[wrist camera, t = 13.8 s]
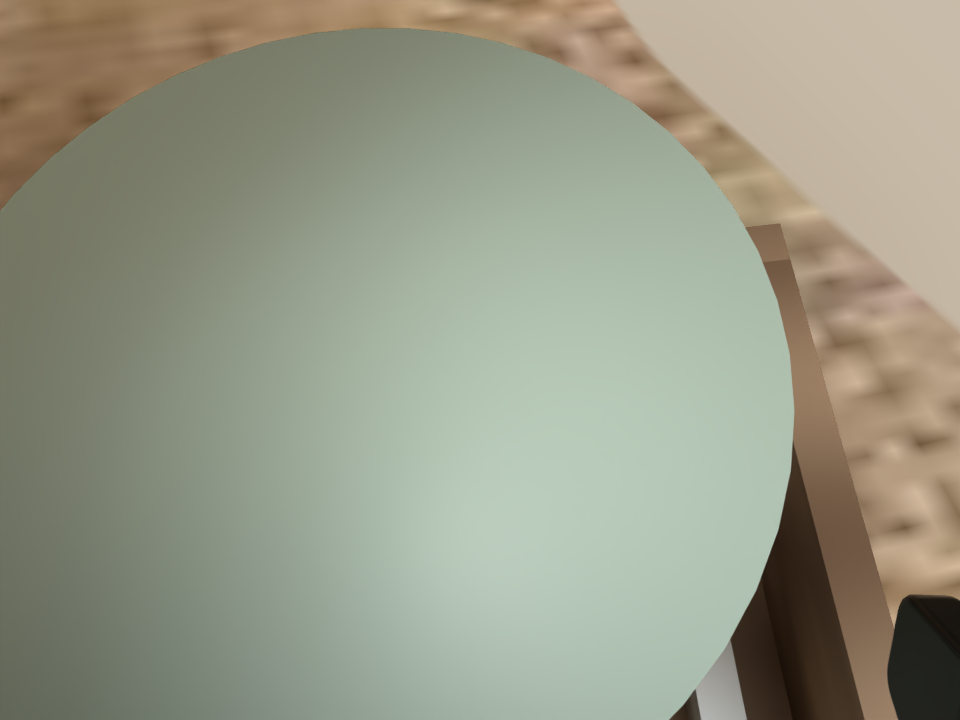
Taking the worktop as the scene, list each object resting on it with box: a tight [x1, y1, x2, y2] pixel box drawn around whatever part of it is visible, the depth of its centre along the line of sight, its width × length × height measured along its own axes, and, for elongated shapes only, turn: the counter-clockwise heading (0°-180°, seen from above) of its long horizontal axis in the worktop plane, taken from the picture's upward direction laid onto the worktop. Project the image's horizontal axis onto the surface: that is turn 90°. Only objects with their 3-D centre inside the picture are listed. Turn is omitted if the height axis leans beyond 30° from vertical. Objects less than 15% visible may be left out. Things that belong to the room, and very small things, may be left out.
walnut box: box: [669, 224, 898, 720], centre depth 16 cm, size 13×13×5 cm
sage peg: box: [0, 28, 794, 720], centre depth 11 cm, size 5×5×14 cm
